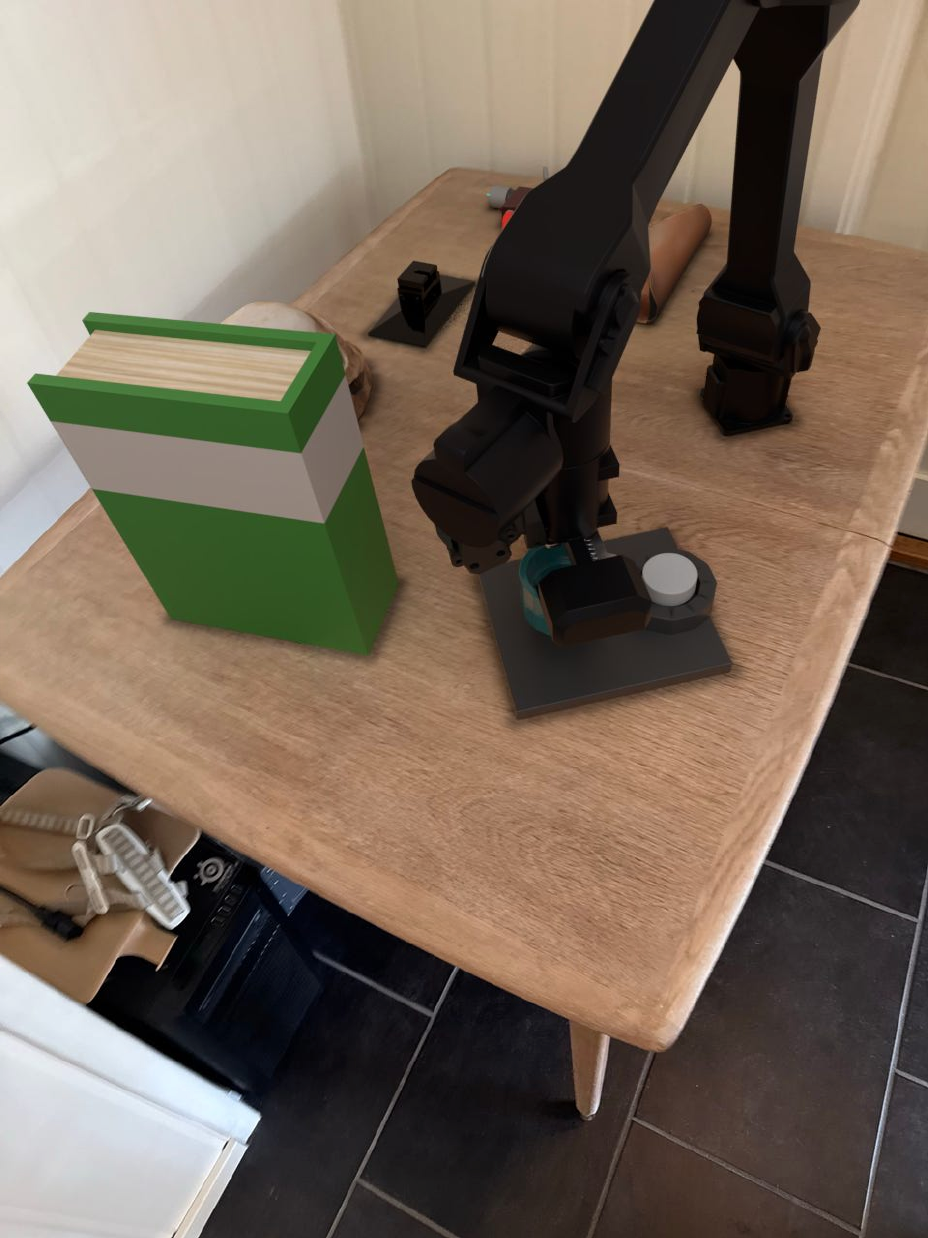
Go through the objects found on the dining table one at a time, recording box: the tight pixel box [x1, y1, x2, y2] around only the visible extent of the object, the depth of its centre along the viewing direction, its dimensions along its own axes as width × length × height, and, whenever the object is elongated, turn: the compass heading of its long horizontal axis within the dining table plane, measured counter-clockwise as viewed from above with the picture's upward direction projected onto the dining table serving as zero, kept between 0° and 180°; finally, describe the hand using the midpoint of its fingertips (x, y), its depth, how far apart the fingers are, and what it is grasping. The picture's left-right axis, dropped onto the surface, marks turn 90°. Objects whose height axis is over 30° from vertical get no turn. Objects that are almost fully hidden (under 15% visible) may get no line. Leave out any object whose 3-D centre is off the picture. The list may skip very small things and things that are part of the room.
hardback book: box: [26, 311, 400, 656], centre depth 63 cm, size 18×7×24 cm, turn 74°
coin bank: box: [219, 301, 373, 421], centre depth 82 cm, size 16×17×13 cm
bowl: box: [519, 543, 592, 636], centre depth 64 cm, size 6×6×4 cm
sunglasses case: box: [636, 203, 713, 325], centre depth 94 cm, size 18×7×7 cm
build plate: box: [367, 260, 477, 349], centre depth 94 cm, size 12×7×5 cm, turn 154°
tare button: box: [642, 553, 697, 606], centre depth 66 cm, size 4×4×2 cm
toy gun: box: [486, 166, 550, 230], centre depth 102 cm, size 10×12×5 cm
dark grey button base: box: [477, 526, 733, 721], centre depth 67 cm, size 17×14×3 cm
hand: (565, 597), depth 65 cm, fingers closed on bowl, 6 cm apart
